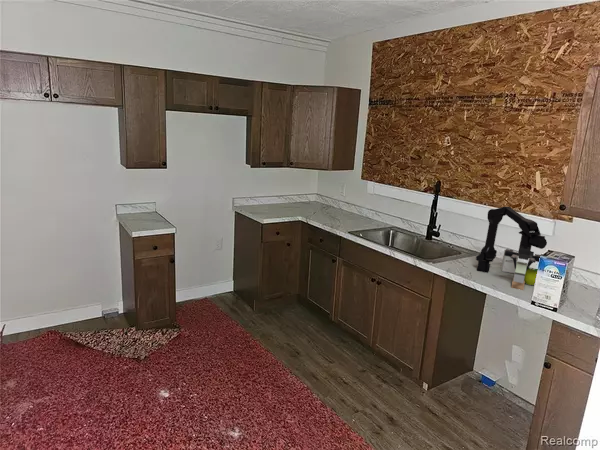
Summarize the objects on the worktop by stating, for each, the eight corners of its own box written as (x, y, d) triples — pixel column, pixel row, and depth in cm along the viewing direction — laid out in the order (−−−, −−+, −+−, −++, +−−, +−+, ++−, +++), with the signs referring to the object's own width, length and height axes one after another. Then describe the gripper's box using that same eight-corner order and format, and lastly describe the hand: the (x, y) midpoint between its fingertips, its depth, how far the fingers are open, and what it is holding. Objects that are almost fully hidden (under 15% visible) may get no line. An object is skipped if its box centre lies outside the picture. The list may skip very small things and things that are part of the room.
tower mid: (513, 281, 229) (514, 274, 228) (513, 278, 233) (515, 272, 232) (523, 283, 226) (524, 276, 225) (523, 280, 230) (524, 274, 229)
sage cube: (515, 272, 227) (516, 263, 226) (515, 269, 232) (517, 261, 231) (525, 274, 225) (527, 265, 224) (525, 271, 229) (527, 263, 228)
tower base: (511, 288, 229) (512, 281, 228) (511, 284, 234) (513, 278, 233) (523, 290, 226) (524, 283, 226) (523, 287, 232) (524, 280, 231)
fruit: (519, 280, 242) (523, 264, 240) (537, 283, 239) (541, 267, 236) (520, 285, 234) (523, 268, 232) (539, 288, 230) (542, 271, 228)
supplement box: (502, 271, 256) (505, 252, 253) (500, 268, 263) (504, 249, 260) (515, 273, 254) (518, 254, 251) (513, 270, 260) (517, 251, 257)
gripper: (506, 243, 222) (501, 270, 226) (545, 250, 213) (539, 278, 217) (507, 239, 231) (502, 265, 235) (545, 245, 223) (539, 272, 227)
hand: (520, 270), depth 228 cm, fingers closed on sage cube, 5 cm apart
